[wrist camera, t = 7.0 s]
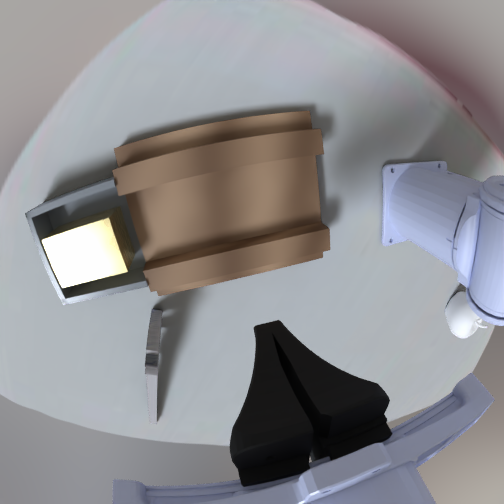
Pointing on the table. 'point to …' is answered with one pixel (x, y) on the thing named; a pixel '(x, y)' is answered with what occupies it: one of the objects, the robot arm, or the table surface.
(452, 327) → the plain white apple
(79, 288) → the tray
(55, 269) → the block
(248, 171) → the slot board
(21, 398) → the table surface
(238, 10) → the table surface
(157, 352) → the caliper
